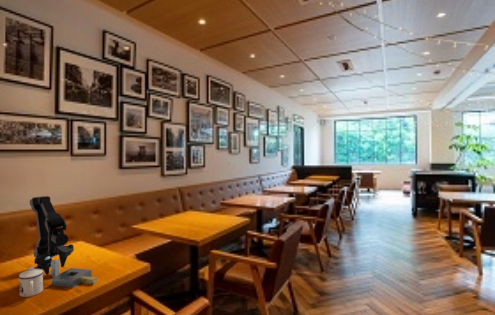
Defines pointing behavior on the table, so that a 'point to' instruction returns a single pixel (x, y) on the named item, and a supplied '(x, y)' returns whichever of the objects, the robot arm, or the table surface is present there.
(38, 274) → the teacup with lid
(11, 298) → the table surface
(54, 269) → the wedge pin
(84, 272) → the grey slotted block
